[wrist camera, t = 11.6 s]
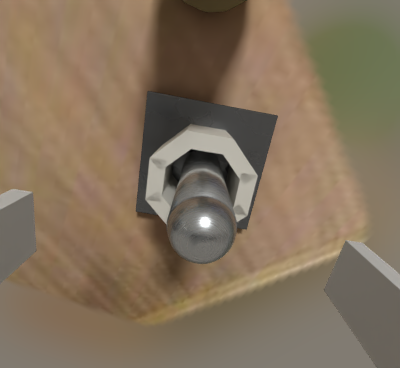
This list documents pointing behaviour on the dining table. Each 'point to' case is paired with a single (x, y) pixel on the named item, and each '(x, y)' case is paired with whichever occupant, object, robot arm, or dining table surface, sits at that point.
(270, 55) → the dining table surface
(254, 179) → the ring
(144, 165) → the post
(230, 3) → the squeeze bottle
